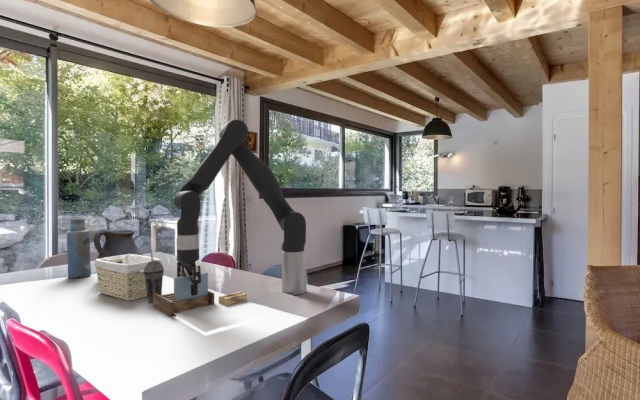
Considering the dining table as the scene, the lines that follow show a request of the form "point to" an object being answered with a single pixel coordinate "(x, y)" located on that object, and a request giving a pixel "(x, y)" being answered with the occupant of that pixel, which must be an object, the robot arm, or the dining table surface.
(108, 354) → the dining table surface
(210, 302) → the rack
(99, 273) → the storage basket
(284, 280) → the robot arm
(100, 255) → the pitcher
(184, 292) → the plate
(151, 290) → the beverage cup
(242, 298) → the plate stand
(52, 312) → the dining table surface
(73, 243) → the bottle
